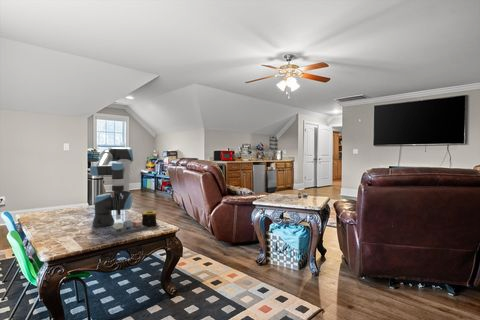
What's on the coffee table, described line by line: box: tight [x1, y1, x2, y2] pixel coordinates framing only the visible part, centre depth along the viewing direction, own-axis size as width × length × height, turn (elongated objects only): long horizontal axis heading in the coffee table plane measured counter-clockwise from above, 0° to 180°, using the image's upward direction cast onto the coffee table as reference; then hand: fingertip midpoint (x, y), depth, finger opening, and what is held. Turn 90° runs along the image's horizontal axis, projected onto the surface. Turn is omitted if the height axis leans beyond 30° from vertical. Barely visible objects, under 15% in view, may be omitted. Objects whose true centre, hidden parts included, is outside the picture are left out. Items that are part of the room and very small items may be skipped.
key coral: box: [132, 220, 142, 227], centre depth 199 cm, size 5×5×5 cm
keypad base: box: [108, 225, 148, 237], centre depth 194 cm, size 12×22×2 cm, turn 140°
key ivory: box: [113, 222, 124, 231], centre depth 188 cm, size 5×5×5 cm
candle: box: [141, 210, 157, 228], centre depth 209 cm, size 10×10×10 cm
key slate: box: [122, 220, 134, 229], centre depth 194 cm, size 5×5×5 cm
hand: (118, 219), depth 188 cm, fingers closed
